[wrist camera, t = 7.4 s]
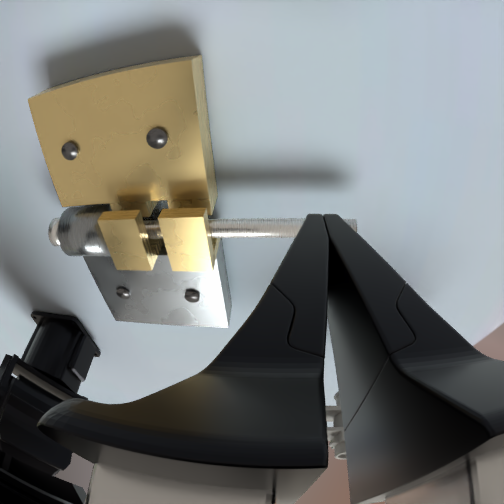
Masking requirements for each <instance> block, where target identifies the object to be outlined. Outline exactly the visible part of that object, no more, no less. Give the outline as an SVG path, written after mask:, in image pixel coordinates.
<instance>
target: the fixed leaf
mask: <svg viewBox="0 0 504 504" xmlns="http://www.w3.org/2000/svg"><path fill="white" fill-rule="evenodd" d="M106 211H112V210H111V207H110V205H96V206H83V207H70V208H67V209H66V210H65V211H64V212H63V213H62V215H61V217H60V218H55V219H53V220H52V221H51V223H50V225H49V231H48V233H49V239H50V242H51V243H52V244H53V245H54V246H61V248H62V250H63V251H64V253H65V254H67V255H69V256H83V257H84V260H85V262H86V264H87V266H88V268H89V270H90V272H91V274H92V276H93V278H94V280H95V282H96V284H97V286H98V288H99V290H100V292H101V294H102V296H103V298H104V300H105V302H106V303H107V305H108V307H109V309H110V311H111V313H112V314H113V316H114V318H115V320H116V321H126V322H138V323H150V324H164V325H180V326H198V327H221V328H229V322H230V315H231V308H232V305H231V298H230V292H229V285H228V279H227V272H226V265H225V259H224V252H223V245H222V238H295V237H296V235H297V233H298V231H299V230H300V228H301V226H302V224H303V222H304V220H305V218H251V219H208V221H209V227H210V233H211V238H220V242H219V247H218V251H217V256H216V260H215V265H214V269H213V272H194V271H172V268H171V264H170V261H169V257H168V254H167V250H166V247H165V243H164V242H163V245H162V247H161V249H160V252H159V254H158V257H157V259H156V262H155V264H154V267H153V269H152V271H142V270H117V269H116V267H115V264H114V262H113V259H112V257H111V255H110V252H109V250H108V247H107V245H106V242H105V240H104V237H103V235H102V232H101V229H100V227H99V224H98V221H97V220H98V219H99V217H100V216H101V214H102V213H103V212H106ZM343 220H344V221H345V222H346V223H347V224H348V225H349V226H350V227H351V228H353V229H354V230H355V231H356V232H357V222H356V219H343ZM144 224H145V227H146V231H147V234H148V237H149V239H156V238H163V236H162V232H161V229H160V225H159V221H158V220H147V221H144Z"/></svg>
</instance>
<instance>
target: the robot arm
mask: <svg viewBox="0 0 504 504" xmlns="http://www.w3.org/2000/svg"><path fill="white" fill-rule="evenodd" d="M31 317H32V318H33V320H34V321H35V322H36V324H37V327H36V329H35V331H34V333H33V335H32V337H31V339H30V341H29V343H28V345H27V347H26V349H25V351H24V354H23V356H22V358H21V359H20V358H19V357H18V356H17V355H15V354H14V355H13V357H12V356H10V355H7V354H6V355H5V357H4V359H3V362H2V364H1V366H0V504H294V503H295V502H296V501H297V500H298V499H299V498H300V497H301V496H302V495H303V494H304V493H305V492H306V491H307V490H308V489H309V487H310V486H311V485H312V484H313V483H314V482H315V481H316V480H317V479H318V478H319V477H320V475H321V474H322V473H323V472H324V471H325V470H326V469H327V467H328V436H327V420H326V406H325V394H324V358H325V345H326V329H327V317H328V323H329V329H330V335H331V341H332V347H333V354H334V360H335V367H336V374H337V381H338V388H339V396H340V403H341V411H342V420H343V428H344V431H345V432H344V438H345V447H346V457H347V465H348V466H347V467H348V477H349V490H350V502H351V504H369V503H375V502H382V501H385V504H504V361H501V360H496V359H492V358H490V357H487V356H486V355H484V354H482V353H481V352H479V351H478V350H476V349H475V348H474V347H473V346H472V345H471V344H470V343H469V342H468V341H467V340H465V339H464V338H463V337H462V336H461V335H460V334H459V333H458V332H457V331H456V330H455V329H454V328H453V327H452V326H450V325H449V324H448V323H447V322H446V321H445V320H444V319H443V318H442V317H441V316H440V315H439V314H437V313H436V312H435V311H434V310H433V309H432V308H431V307H430V306H429V305H428V304H427V303H426V302H425V301H424V300H423V299H422V298H421V297H420V296H419V295H418V294H417V293H416V292H415V291H414V290H413V289H412V288H411V287H410V286H409V284H407V283H406V282H405V280H404V279H403V278H402V277H401V276H400V275H399V274H398V273H397V272H396V271H395V270H394V269H393V268H392V267H391V266H390V265H389V264H388V263H387V262H386V261H385V260H384V259H383V258H382V257H381V256H380V255H379V254H378V253H377V252H376V251H375V250H374V249H373V248H372V247H371V246H370V245H369V244H368V243H367V242H366V241H365V240H364V239H363V238H362V237H361V236H360V235H359V234H358V233H357V232H356V231H355V230H354V229H353V228H351V227H350V226H349V225H348V224H347V223H346V222H345V221H344V220H343V219H342V218H341V217H340V216H339V215H337V214H324V215H323V216H322V214H308V215H307V217H306V218H305V220H304V222H303V224H302V226H301V228H300V230H299V231H298V233H297V235H296V237H295V239H294V241H293V243H292V244H291V246H290V248H289V250H288V252H287V254H286V255H285V257H284V259H283V261H282V263H281V265H280V266H279V268H278V270H277V272H276V274H275V275H274V277H273V279H272V281H271V283H270V285H269V286H268V288H267V290H266V291H265V293H264V295H263V296H262V298H261V300H260V301H259V303H258V305H257V306H256V308H255V309H254V310H253V312H252V313H251V315H250V316H249V317H248V319H247V320H246V321H245V323H244V324H243V325H242V326H241V328H240V329H239V330H238V331H237V332H236V334H235V335H234V336H233V337H232V339H231V340H230V341H229V342H228V344H227V345H226V346H225V347H224V348H223V350H222V351H221V352H220V353H219V354H218V356H217V357H216V358H215V359H214V360H213V361H212V362H211V363H210V364H209V365H208V366H207V367H206V368H205V369H204V370H202V371H201V372H199V373H198V374H196V375H194V376H192V377H190V378H188V379H185V380H183V381H181V382H179V383H176V384H174V385H172V386H170V387H167V388H165V389H163V390H160V391H158V392H156V393H153V394H151V395H149V396H146V397H144V398H141V399H139V400H136V401H133V402H129V403H123V404H103V403H98V402H93V401H89V400H88V398H86V397H84V396H81V395H79V394H77V392H78V389H79V386H80V383H81V381H82V382H83V381H85V379H86V376H87V373H88V370H89V368H90V365H91V362H92V359H93V357H94V356H95V357H99V356H100V351H99V350H98V348H97V347H96V345H95V344H94V343H93V341H92V340H91V338H90V337H89V335H88V334H87V332H86V331H85V329H84V328H83V326H82V325H81V323H80V322H79V320H78V319H76V318H75V317H70V316H62V315H55V314H48V313H41V312H32V314H31ZM12 373H13V374H15V375H16V376H18V377H17V378H15V377H13V376H12V375H11V374H12ZM73 452H74V453H76V454H77V455H79V456H81V457H82V458H84V459H86V460H88V461H90V462H92V463H94V466H93V471H92V475H91V480H90V484H89V489H88V493H87V495H86V493H85V491H84V489H83V488H82V487H79V486H76V485H74V484H72V483H69V482H67V481H64V480H61V479H59V478H56V477H54V475H56V474H57V473H58V472H59V471H60V470H64V469H66V468H67V466H68V465H69V464H70V462H71V456H72V453H73Z"/></svg>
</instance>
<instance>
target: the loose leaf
mask: <svg viewBox="0 0 504 504" xmlns="http://www.w3.org/2000/svg"><path fill="white" fill-rule="evenodd" d="M28 103H29V106H30V110H31V114H32V118H33V121H34V125H35V129H36V132H37V135H38V139H39V142H40V145H41V148H42V152H43V155H44V158H45V161H46V164H47V167H48V170H49V172H50V175H51V178H52V181H53V184H54V186H55V189H56V192H57V194H58V197H59V200H60V202H61V205H62V207H68V206H80V205H93V204H107V203H109V204H110V207H111V210H112V211H106V212H103V213H102V214H101V216H100V217H99V219H98V220H97V221H98V224H99V227H100V229H101V232H102V235H103V237H104V240H105V242H106V245H107V247H108V250H109V252H110V255H111V257H112V259H113V262H114V264H115V267H116V269H117V270H142V271H152V269H153V267H154V264H155V262H156V259H157V257H158V254H159V252H160V249H161V247H162V245H163V242H164V243H165V247H166V250H167V254H168V257H169V261H170V264H171V268H172V271H194V272H213V269H214V265H215V260H216V256H217V251H218V247H219V242H220V238H211V233H210V227H209V221H208V215H212V213H213V209H214V206H215V203H216V199H217V196H218V193H217V185H216V178H215V170H214V161H213V153H212V145H211V137H210V128H209V119H208V111H207V102H206V93H205V83H204V74H203V64H202V55H196V56H188V57H180V58H173V59H167V60H161V61H155V62H149V63H144V64H139V65H134V66H129V67H124V68H120V69H115V70H111V71H107V72H103V73H99V74H95V75H91V76H88V77H84V78H81V79H77V80H74V81H70V82H67V83H64V84H61V85H58V86H55V87H52V88H49V89H47V90H45V91H43V92H41V93H39V94H37V95H35V96H33V97H31V98H29V99H28ZM159 200H167V202H168V207H169V209H162V211H161V213H160V215H159V217H158V221H159V225H160V229H161V232H162V236H163V238H156V239H149V237H148V234H147V231H146V227H145V224H144V221H143V217H150V216H151V214H152V212H153V210H154V208H155V206H156V204H157V203H158V201H159Z"/></svg>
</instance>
